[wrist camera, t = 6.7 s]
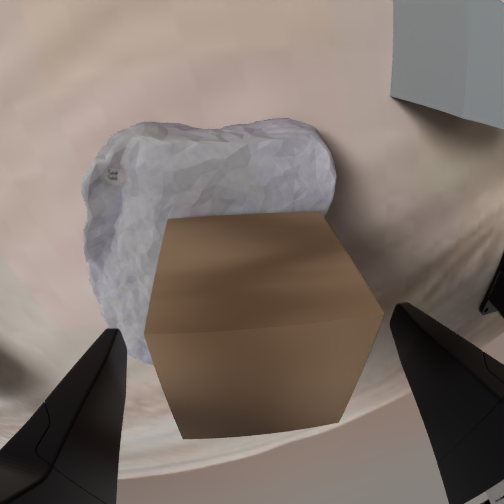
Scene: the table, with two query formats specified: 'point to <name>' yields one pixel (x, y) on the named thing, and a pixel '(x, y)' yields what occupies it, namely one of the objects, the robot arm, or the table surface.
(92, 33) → the table surface
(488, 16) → the slate cube
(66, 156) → the table surface
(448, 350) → the robot arm
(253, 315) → the walnut cube
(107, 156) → the stone block
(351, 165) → the table surface
